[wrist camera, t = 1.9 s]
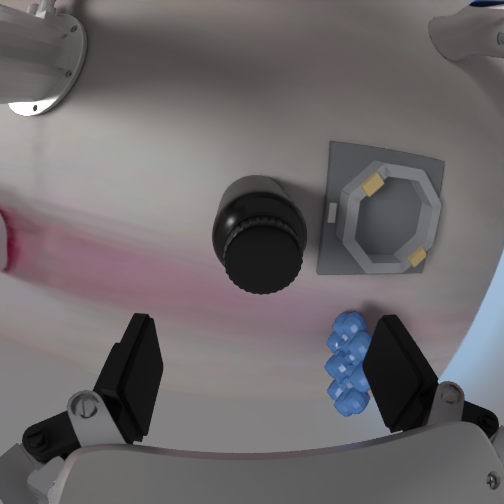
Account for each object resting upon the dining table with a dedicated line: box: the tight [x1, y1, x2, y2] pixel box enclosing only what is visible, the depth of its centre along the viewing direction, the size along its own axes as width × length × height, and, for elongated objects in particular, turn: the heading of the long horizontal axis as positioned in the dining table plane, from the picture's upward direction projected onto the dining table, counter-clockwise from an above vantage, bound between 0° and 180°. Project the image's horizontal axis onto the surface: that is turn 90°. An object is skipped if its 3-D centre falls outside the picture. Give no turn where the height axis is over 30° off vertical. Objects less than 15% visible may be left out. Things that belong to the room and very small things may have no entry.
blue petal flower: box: [324, 311, 372, 416], centre depth 29 cm, size 12×7×12 cm, turn 176°
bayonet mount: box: [316, 141, 444, 275], centre depth 27 cm, size 14×14×4 cm
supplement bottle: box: [212, 175, 307, 295], centre depth 22 cm, size 7×7×12 cm
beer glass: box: [429, 0, 504, 62], centre depth 12 cm, size 7×7×15 cm
